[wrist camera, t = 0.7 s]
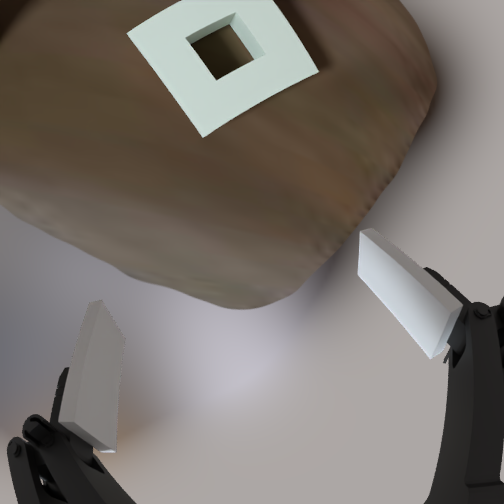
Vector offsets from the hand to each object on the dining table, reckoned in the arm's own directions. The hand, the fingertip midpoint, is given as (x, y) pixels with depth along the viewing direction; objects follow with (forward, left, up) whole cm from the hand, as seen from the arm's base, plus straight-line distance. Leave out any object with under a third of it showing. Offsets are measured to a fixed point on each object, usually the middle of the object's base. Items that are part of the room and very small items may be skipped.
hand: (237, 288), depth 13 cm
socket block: (-12, +11, -26) cm, 31 cm away
